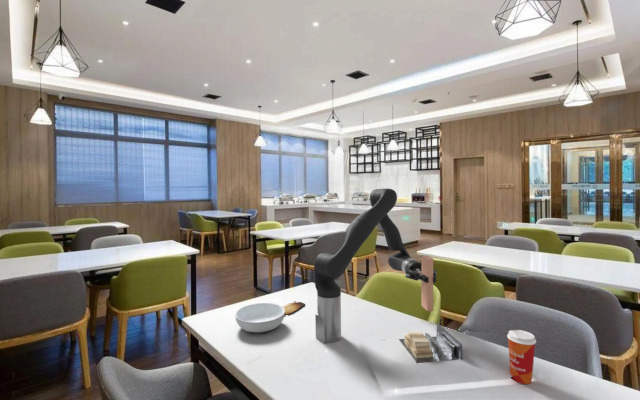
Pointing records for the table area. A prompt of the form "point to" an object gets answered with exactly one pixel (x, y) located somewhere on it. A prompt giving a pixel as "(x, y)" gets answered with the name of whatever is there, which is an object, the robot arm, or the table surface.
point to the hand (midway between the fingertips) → (431, 280)
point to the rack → (440, 347)
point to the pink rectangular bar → (427, 284)
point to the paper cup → (521, 355)
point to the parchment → (292, 307)
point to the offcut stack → (418, 344)
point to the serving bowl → (260, 317)
